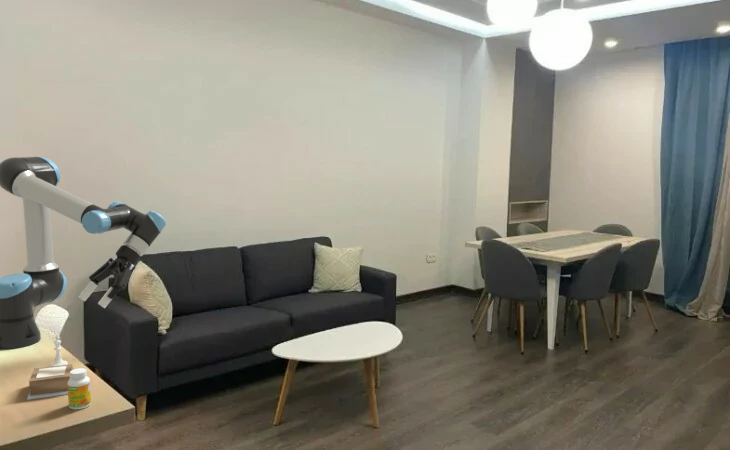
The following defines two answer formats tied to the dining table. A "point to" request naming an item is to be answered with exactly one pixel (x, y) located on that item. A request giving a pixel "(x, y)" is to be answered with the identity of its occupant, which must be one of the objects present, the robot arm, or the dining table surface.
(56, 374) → the walnut plinth
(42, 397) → the pale blue board
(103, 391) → the dining table surface
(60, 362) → the chess piece
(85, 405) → the supplement bottle
